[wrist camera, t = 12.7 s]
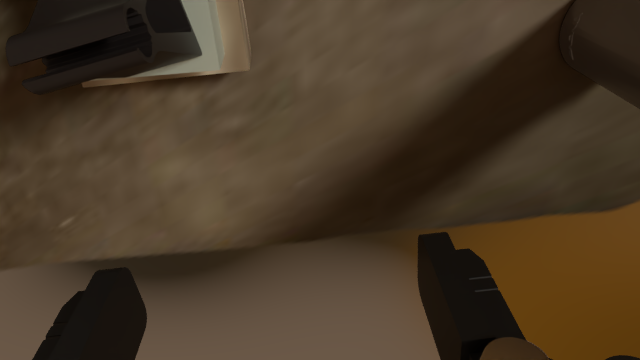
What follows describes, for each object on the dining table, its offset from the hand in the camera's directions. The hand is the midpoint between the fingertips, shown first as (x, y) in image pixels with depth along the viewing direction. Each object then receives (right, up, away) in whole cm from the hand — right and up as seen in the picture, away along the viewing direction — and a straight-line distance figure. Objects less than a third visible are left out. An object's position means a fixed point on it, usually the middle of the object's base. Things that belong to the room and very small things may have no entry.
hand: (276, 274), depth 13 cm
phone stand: (-12, +15, +19) cm, 27 cm away
